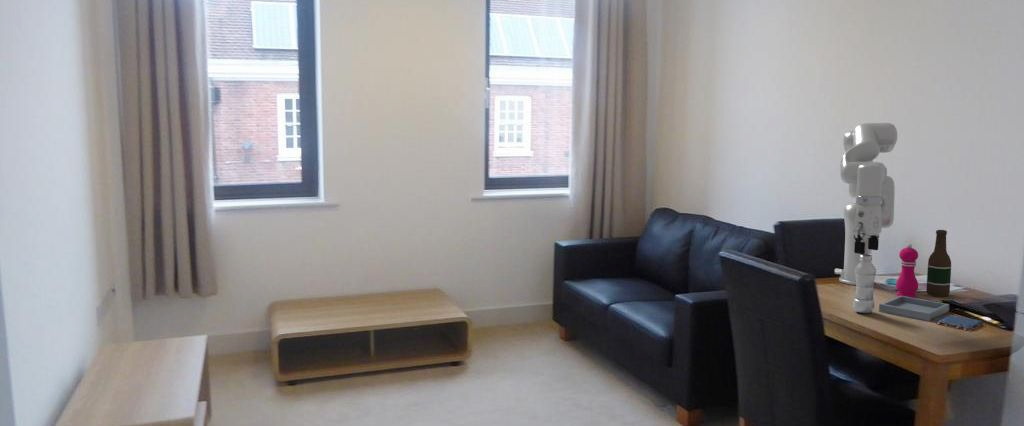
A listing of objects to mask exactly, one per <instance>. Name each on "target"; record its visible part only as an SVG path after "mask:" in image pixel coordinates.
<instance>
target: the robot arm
mask: <svg viewBox="0 0 1024 426" xmlns="http://www.w3.org/2000/svg"><path fill="white" fill-rule="evenodd" d="M842 139H843V141H842V142H843V148H844V154H843V155H842V157H841V159H840V170H839V171H840V174H839V175H840V177H841V178H840V179H841V180H842V182H843V183H845V184H848V194H849V196H850V198H852V199H855V202H852V203H851V202H850V203H849V204H847V205H846V206H845V207H844V209H843V218H844V219H843V220H844V232H845V233H844V235H845V236H844V237H845V238H844V257H843V258H844V259H843V260H844V261H843V269H841V268H834V275H835V274H836V275H840V276H839V278H838V279H839V282H841V283H843V284H847V285H851V286H856V276H855V269H856V266H857V265H858V264H859V263H860V255H861V254H870V255H872V250H873V251H878V250H879V243H880V242H879V240H880V239H879V238H880V234H881V233H882V229H887V228H890V227H891V226H893V224H894V219H895V218H894V215H895V188H896V187H895V182H894V179H893V178H892V176H889V175H888V168H887V167H886V165H885V164H884V163H883V162H879V161H874V160H875V159H877V158H878V156H879V155H880V153H882V154H885V153H887V154H888V153H891V152H892V151H893V150H894V148H895V146H896V143H897V141H898V130H897V128H896V126H895V125H894V124H892V123H890V122H867V123H860V124H858V125H857V126H856V127H855V128H854V129H853V130H852V131H851V130H850V131H848V132H845V133H844V135H843V138H842Z"/></svg>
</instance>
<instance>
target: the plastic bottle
mask: <svg viewBox="0 0 1024 426" xmlns="http://www.w3.org/2000/svg"><path fill="white" fill-rule="evenodd" d="M872 261H873V255H872V254H871V255H870V254H861V255H860V263H859V264H858V265H857V266H856V269H855V276H856V285H855V292H854V299H853V303H852V306H853V308H852V309H853V310H854V311H855V312H856V313H861V314H870V313H872V312H873V311H874V309H875V301H874V300H875V299H874V286H875V277H876V274H877V269H876V267H875V265H874V264H873V262H872Z"/></svg>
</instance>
